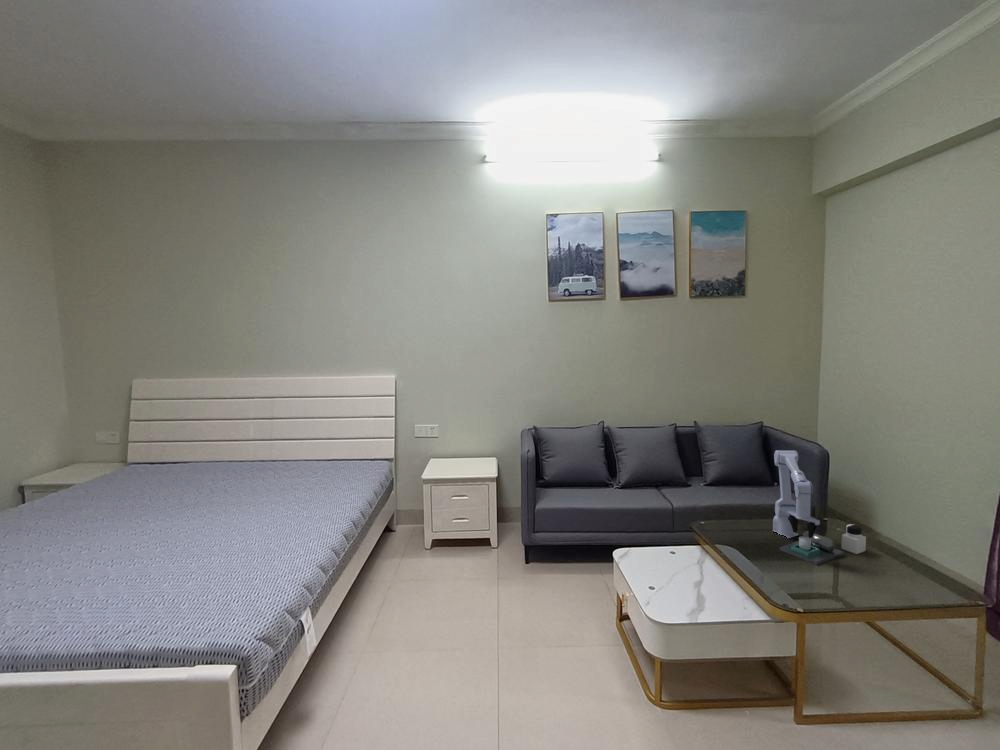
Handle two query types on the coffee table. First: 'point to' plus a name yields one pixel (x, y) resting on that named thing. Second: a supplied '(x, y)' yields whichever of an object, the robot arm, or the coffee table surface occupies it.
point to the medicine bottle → (854, 539)
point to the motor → (814, 550)
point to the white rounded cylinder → (805, 543)
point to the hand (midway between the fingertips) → (802, 534)
